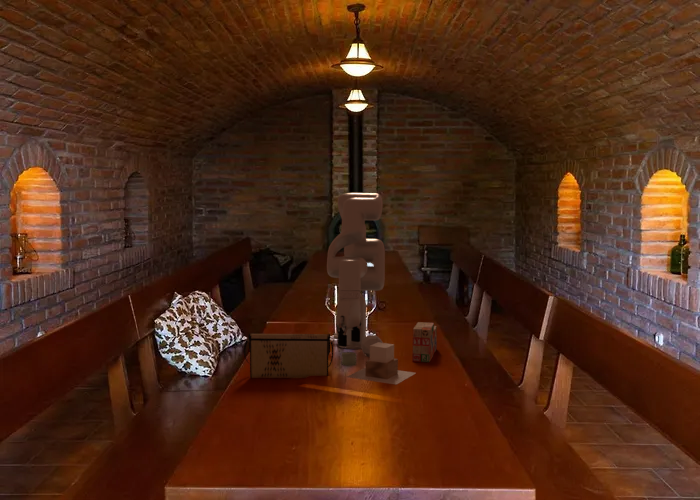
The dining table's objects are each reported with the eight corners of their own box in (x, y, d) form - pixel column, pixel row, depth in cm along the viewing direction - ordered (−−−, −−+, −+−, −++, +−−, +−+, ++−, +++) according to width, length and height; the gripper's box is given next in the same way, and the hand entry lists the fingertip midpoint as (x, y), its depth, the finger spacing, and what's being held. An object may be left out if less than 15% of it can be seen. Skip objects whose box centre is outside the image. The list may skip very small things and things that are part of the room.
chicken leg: (362, 368, 260) (372, 348, 259) (356, 347, 278) (365, 328, 276) (383, 376, 262) (393, 356, 261) (375, 354, 279) (385, 336, 278)
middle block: (369, 360, 243) (369, 345, 242) (377, 357, 248) (377, 342, 247) (386, 363, 240) (386, 348, 239) (393, 359, 245) (394, 344, 245)
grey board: (346, 380, 242) (346, 376, 242) (368, 369, 256) (368, 366, 256) (396, 388, 233) (396, 384, 233) (416, 376, 247) (416, 372, 247)
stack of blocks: (420, 348, 288) (421, 317, 287) (436, 349, 287) (437, 318, 286) (412, 361, 268) (412, 328, 266) (429, 362, 266) (430, 329, 265)
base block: (365, 376, 243) (365, 361, 242) (376, 370, 250) (376, 356, 249) (387, 379, 239) (387, 364, 238) (397, 373, 246) (397, 358, 246)
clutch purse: (333, 374, 250) (334, 330, 248) (333, 379, 243) (333, 335, 241) (245, 373, 249) (245, 329, 248) (242, 379, 242) (242, 334, 241)
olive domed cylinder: (339, 368, 257) (339, 354, 257) (346, 365, 261) (346, 351, 261) (351, 370, 255) (352, 355, 254) (358, 366, 259) (358, 352, 259)
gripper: (351, 291, 265) (351, 338, 266) (327, 296, 249) (327, 346, 251) (370, 292, 261) (369, 340, 262) (347, 298, 246) (346, 349, 247)
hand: (349, 343), depth 256 cm, fingers open, 9 cm apart
